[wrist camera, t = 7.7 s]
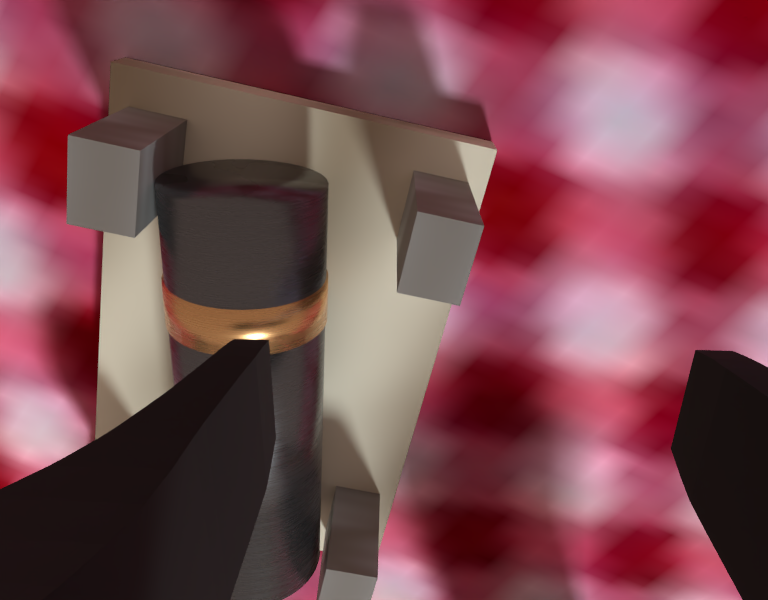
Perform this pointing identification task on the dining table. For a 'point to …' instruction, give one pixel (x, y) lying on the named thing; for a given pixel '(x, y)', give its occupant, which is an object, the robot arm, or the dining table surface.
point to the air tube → (257, 328)
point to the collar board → (344, 265)
